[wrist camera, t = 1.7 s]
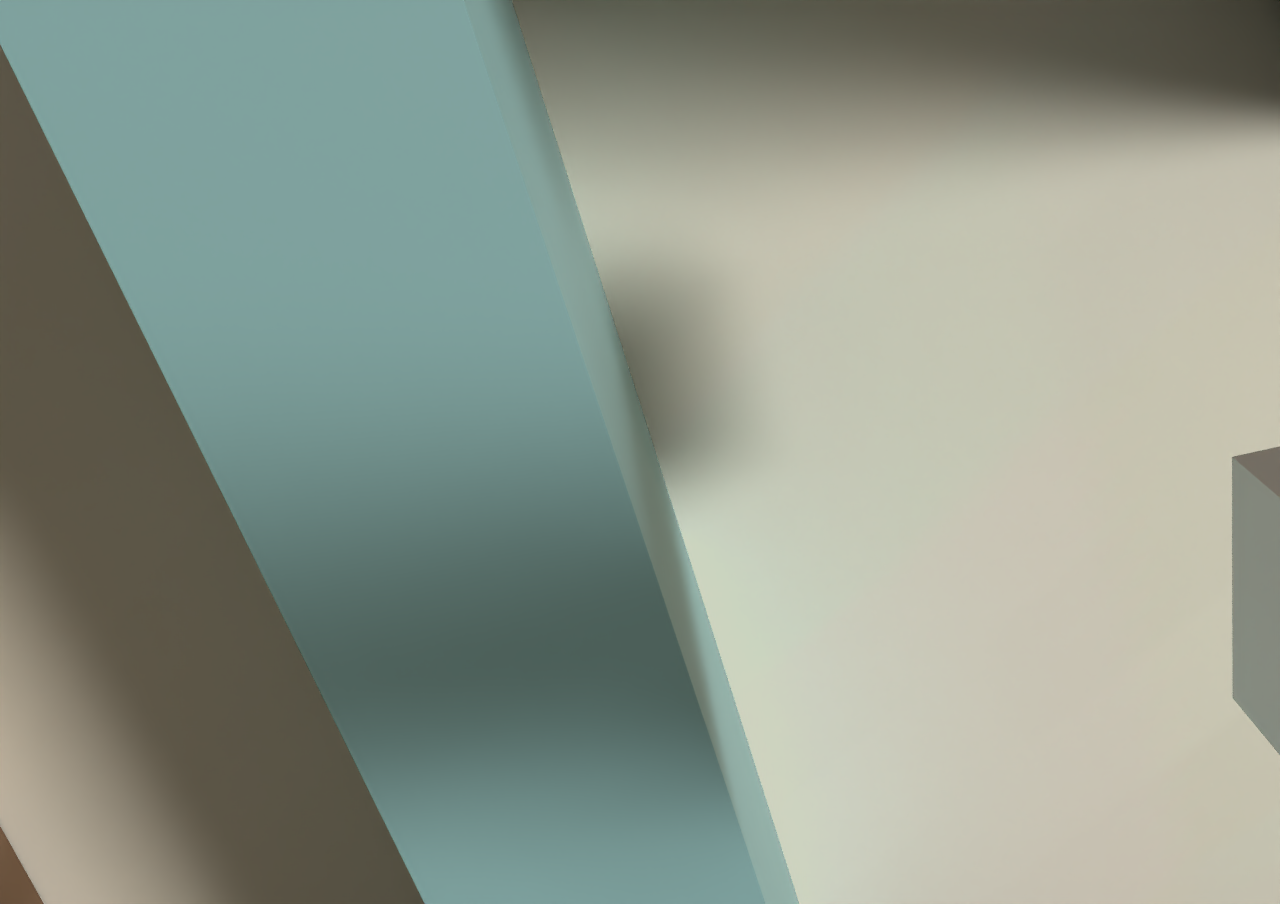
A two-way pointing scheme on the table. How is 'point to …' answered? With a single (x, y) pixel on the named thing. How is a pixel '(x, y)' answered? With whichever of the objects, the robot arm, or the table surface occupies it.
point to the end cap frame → (14, 878)
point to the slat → (418, 426)
